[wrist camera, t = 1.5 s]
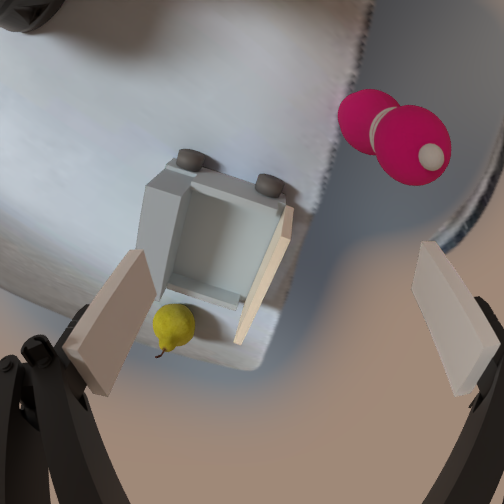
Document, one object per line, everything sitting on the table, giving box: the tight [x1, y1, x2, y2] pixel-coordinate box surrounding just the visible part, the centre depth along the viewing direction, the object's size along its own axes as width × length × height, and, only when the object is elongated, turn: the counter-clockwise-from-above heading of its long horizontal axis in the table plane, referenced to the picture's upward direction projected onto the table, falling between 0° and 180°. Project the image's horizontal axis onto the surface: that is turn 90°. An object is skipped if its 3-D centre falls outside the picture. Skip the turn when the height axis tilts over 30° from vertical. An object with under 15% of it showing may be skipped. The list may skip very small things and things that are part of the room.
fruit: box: [153, 304, 195, 358], centre depth 47 cm, size 7×7×12 cm
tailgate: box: [233, 205, 294, 345], centre depth 37 cm, size 1×16×8 cm, turn 162°
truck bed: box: [136, 149, 286, 311], centre depth 39 cm, size 15×20×9 cm
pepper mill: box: [338, 89, 451, 186], centre depth 25 cm, size 7×7×20 cm
